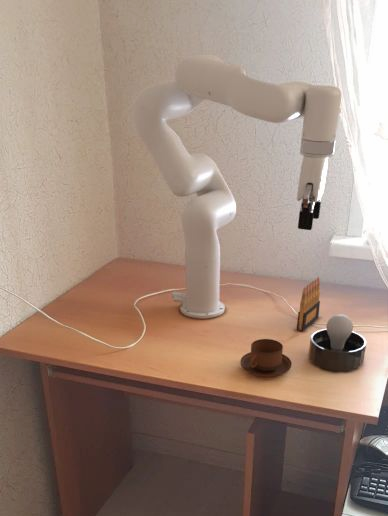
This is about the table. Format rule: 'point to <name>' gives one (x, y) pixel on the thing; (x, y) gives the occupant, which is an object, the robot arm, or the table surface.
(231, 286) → the table surface
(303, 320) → the ammunition clip
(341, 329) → the lightbulb
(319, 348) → the bowl
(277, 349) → the cup and saucer
